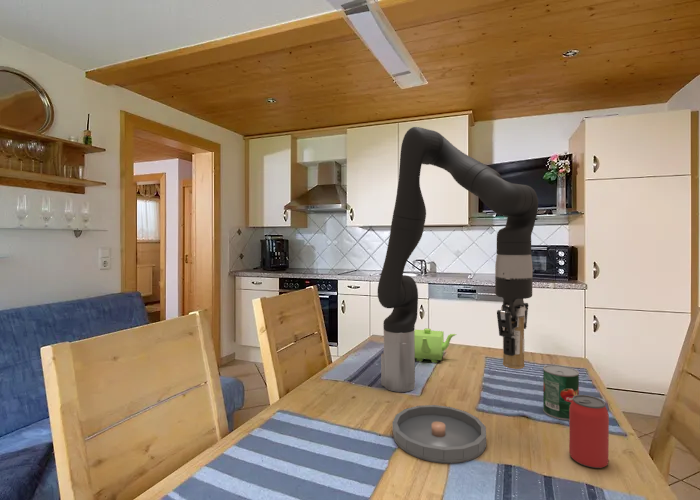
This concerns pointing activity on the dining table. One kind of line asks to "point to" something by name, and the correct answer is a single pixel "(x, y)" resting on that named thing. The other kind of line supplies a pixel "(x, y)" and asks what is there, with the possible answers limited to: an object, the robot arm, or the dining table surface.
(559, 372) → the canned tomato
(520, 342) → the sprinkles bottle
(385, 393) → the dining table surface
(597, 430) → the beer can
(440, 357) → the kettle
